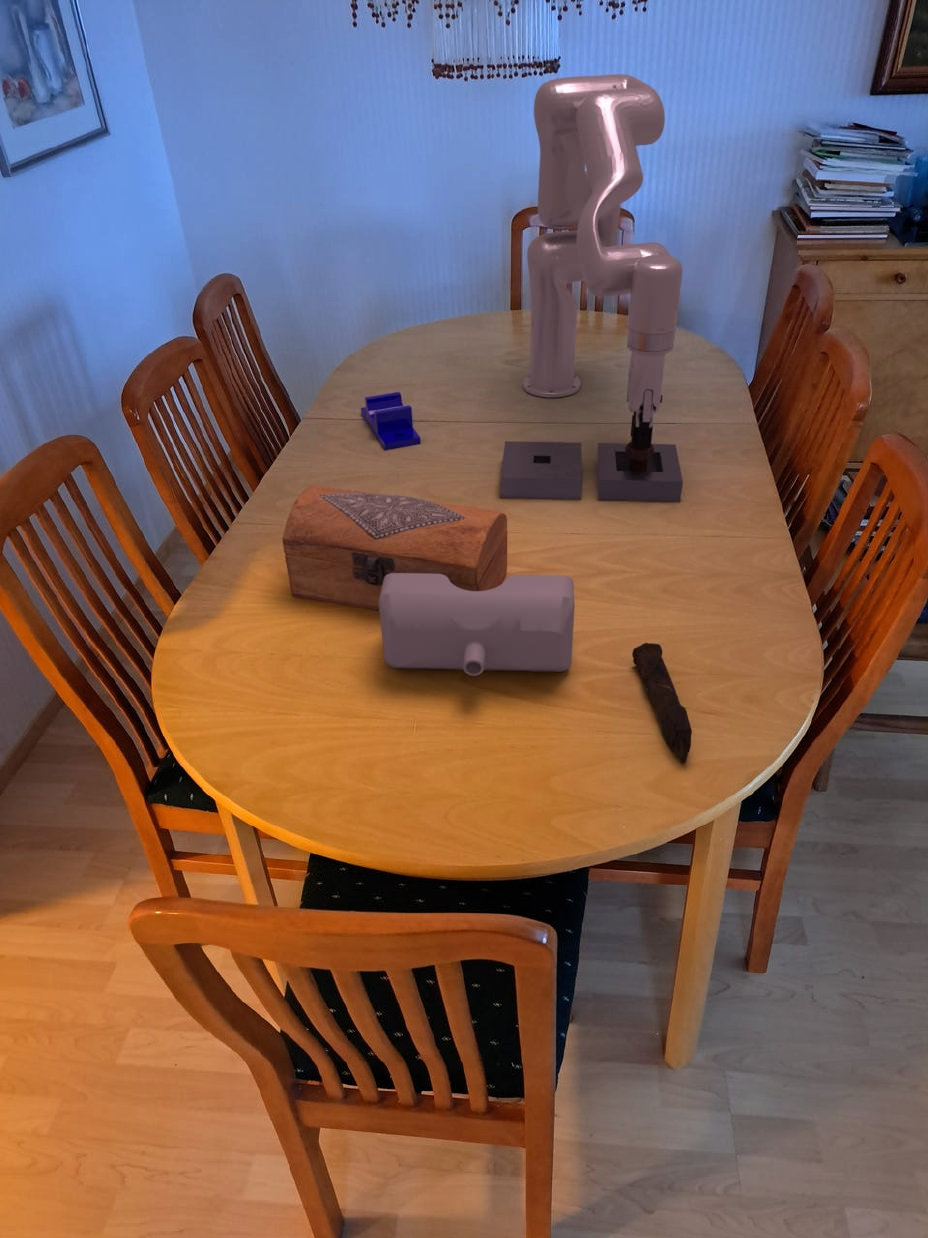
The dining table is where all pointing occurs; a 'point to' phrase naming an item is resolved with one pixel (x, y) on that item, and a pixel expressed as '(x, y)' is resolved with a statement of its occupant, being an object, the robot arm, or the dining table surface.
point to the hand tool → (664, 699)
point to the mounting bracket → (390, 421)
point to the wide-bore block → (638, 475)
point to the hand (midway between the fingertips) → (640, 441)
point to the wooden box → (387, 544)
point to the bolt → (638, 452)
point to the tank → (477, 624)
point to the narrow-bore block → (541, 470)
